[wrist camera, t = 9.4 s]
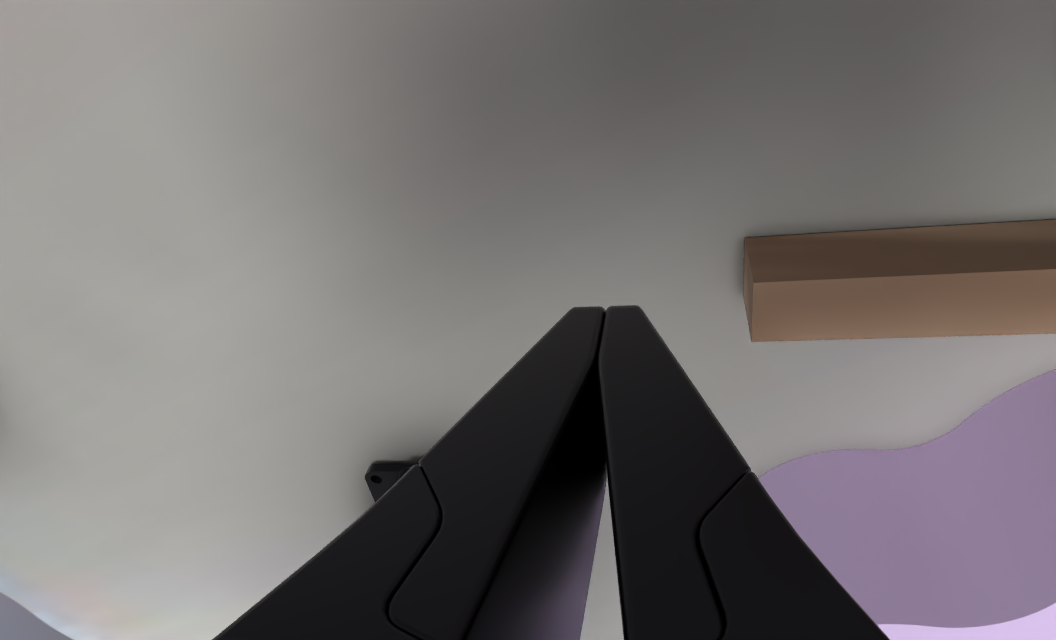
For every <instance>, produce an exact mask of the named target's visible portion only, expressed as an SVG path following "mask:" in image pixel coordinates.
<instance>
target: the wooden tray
mask: <svg viewBox="0 0 1056 640" xmlns="http://www.w3.org/2000/svg"><path fill="white" fill-rule="evenodd" d="M743 296H744V302H745V308H746V314H747V319H748V325H749V331H750V337H751V342H763V341H800V340H836V339H873V338H909V337H945V336H982V335H1018V334H1055V333H1056V219H1053V220H1036V221H1019V222H1002V223H985V224H968V225H951V226H935V227H918V228H901V229H884V230H867V231H850V232H834V233H817V234H800V235H783V236H766V237H749V238H745V240H744V277H743Z"/></svg>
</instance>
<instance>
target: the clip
mask: <svg viewBox="0 0 1056 640" xmlns="http://www.w3.org/2000/svg"><path fill="white" fill-rule="evenodd" d="M758 479H759V481H760V482H761V484H762V485H763V487H764V488H765V489H766V491H767V492H768V494H769V495H770V497H771V498H772V500H773V501H774V502H775V504H776V505H777V506H778V508H779V509H780V510H781V512H782V513H783V514H784V516H785V517H786V519H787V520H788V521H789V523H790V524H791V525H792V527H793V528H794V529H795V531H796V532H797V533H798V535H799V536H800V537H801V538H802V540H803V541H804V542H805V543H806V544H807V546H808V547H809V548H810V549H811V550H812V551H813V553H814V554H815V555H816V556H817V557H818V558H819V560H820V561H821V562H822V563H823V564H824V566H825V567H826V568H827V569H828V570H829V571H830V573H831V574H832V575H833V576H834V577H835V579H836V580H837V581H838V582H839V583H840V584H841V585H842V586H843V588H844V589H845V590H846V591H847V592H848V593H849V594H850V595H851V596H852V598H853V599H854V600H855V601H856V602H857V603H858V604H859V605H860V607H861V608H862V609H863V610H864V611H865V612H866V613H867V614H868V615H869V617H870V618H871V619H872V620H873V621H874V622H875V623H876V624H877V625H878V627H879V628H880V629H881V630H882V631H883V632H884V633H885V634H886V636H887V637H888V638H889V639H890V640H1056V369H1055V370H1052V371H1049V372H1047V373H1044V374H1042V375H1040V376H1037V377H1035V378H1033V379H1031V380H1029V381H1026V382H1024V383H1022V384H1020V385H1018V386H1016V387H1014V388H1012V389H1011V390H1009V391H1007V392H1005V393H1003V394H1002V395H1000V396H998V397H997V398H995V399H993V400H992V401H990V402H989V403H987V404H986V405H984V406H983V407H982V408H980V409H979V410H977V411H976V412H975V413H973V414H972V415H971V416H970V417H968V418H967V419H966V420H965V421H964V422H962V423H961V424H960V425H959V426H957V427H956V428H954V429H953V430H951V431H950V432H948V433H946V434H945V435H943V436H941V437H939V438H937V439H934V440H932V441H929V442H927V443H924V444H921V445H917V446H913V447H909V448H904V449H897V450H862V449H847V450H834V451H826V452H820V453H815V454H810V455H807V456H803V457H799V458H797V459H794V460H791V461H788V462H786V463H784V464H781V465H779V466H777V467H775V468H773V469H772V470H770V471H768V472H767V473H765V474H764V475H762V476H761V477H759V478H758Z"/></svg>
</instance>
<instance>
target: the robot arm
mask: <svg viewBox="0 0 1056 640" xmlns="http://www.w3.org/2000/svg"><path fill="white" fill-rule="evenodd" d="M607 477H608V486H609V496H610V506H611V516H612V526H613V536H614V546H615V556H616V566H617V576H618V586H619V595H620V605H621V615H622V625H623V635H624V640H890V639H889V638H888V637H887V636H886V634H885V633H884V632H883V631H882V630H881V629H880V628H879V627H878V625H877V624H876V623H875V622H874V621H873V620H872V619H871V618H870V617H869V615H868V614H867V613H866V612H865V611H864V610H863V609H862V608H861V607H860V605H859V604H858V603H857V602H856V601H855V600H854V599H853V598H852V596H851V595H850V594H849V593H848V592H847V591H846V590H845V589H844V588H843V586H842V585H841V584H840V583H839V582H838V581H837V580H836V579H835V577H834V576H833V575H832V574H831V573H830V571H829V570H828V569H827V568H826V567H825V566H824V564H823V563H822V562H821V561H820V560H819V558H818V557H817V556H816V555H815V554H814V553H813V551H812V550H811V549H810V548H809V547H808V546H807V544H806V543H805V542H804V541H803V540H802V538H801V537H800V536H799V535H798V533H797V532H796V531H795V529H794V528H793V527H792V525H791V524H790V523H789V521H788V520H787V519H786V517H785V516H784V514H783V513H782V512H781V510H780V509H779V508H778V506H777V505H776V504H775V502H774V501H773V500H772V498H771V497H770V495H769V494H768V492H767V491H766V489H765V488H764V487H763V485H762V484H761V482H760V481H759V479H758V478H757V476H756V475H755V474H754V473H753V472H751V468H750V467H749V465H748V464H747V462H746V461H745V459H744V458H743V456H742V455H741V453H740V452H739V451H738V449H737V448H736V446H735V445H734V443H733V442H732V440H731V439H730V437H729V436H728V434H727V433H726V432H725V430H724V429H723V427H722V426H721V424H720V423H719V421H718V420H717V418H716V417H715V415H714V414H713V412H712V411H711V410H710V408H709V407H708V405H707V404H706V402H705V401H704V399H703V398H702V396H701V395H700V393H699V392H698V391H697V389H696V388H695V386H694V385H693V383H692V382H691V380H690V379H689V377H688V376H687V374H686V373H685V372H684V370H683V369H682V367H681V366H680V364H679V363H678V361H677V360H676V358H675V357H674V355H673V354H672V352H671V351H670V350H669V348H668V347H667V345H666V344H665V342H664V341H663V339H662V338H661V336H660V335H659V333H658V332H657V331H656V329H655V328H654V326H653V325H652V323H651V322H650V320H649V319H648V317H647V316H646V314H645V313H644V312H643V310H642V309H641V308H640V307H639V306H636V305H633V306H611V307H609V308H607V310H606V311H605V309H604V308H603V307H599V306H598V307H574V308H572V309H571V310H569V311H568V312H567V313H566V314H565V315H564V316H563V317H562V318H561V319H560V320H559V321H558V322H557V323H556V324H555V325H554V326H553V327H552V328H551V329H550V330H549V331H548V332H547V333H546V334H545V335H544V336H543V337H542V338H541V339H540V340H539V341H538V342H537V343H536V344H535V345H534V346H533V347H532V348H531V349H530V350H529V351H528V352H527V353H526V354H525V355H524V356H523V357H522V358H521V359H520V360H519V361H518V362H517V363H516V364H515V365H514V366H513V367H512V368H511V369H510V370H509V371H508V372H507V373H506V374H505V375H504V376H503V377H502V378H501V379H500V380H499V381H498V382H497V383H496V384H495V385H494V386H493V387H492V388H491V389H490V390H489V391H488V392H487V393H486V394H485V395H484V396H483V397H482V398H481V399H480V400H479V401H478V402H477V403H476V404H475V405H474V406H473V407H472V408H471V409H470V410H469V411H468V412H467V413H466V414H465V415H464V416H463V417H462V418H461V419H460V420H459V421H458V422H457V423H456V424H455V425H454V426H453V427H452V428H451V429H450V430H449V431H448V432H447V433H446V434H445V435H444V436H443V437H442V438H441V439H440V440H439V441H438V442H437V443H436V444H435V445H434V446H433V447H432V448H431V449H430V450H429V451H428V452H427V453H426V454H425V455H424V456H423V457H422V458H421V459H420V460H419V465H417V464H416V465H404V464H374V465H371V466H369V468H368V471H367V473H366V475H365V480H366V482H367V484H368V487H369V489H370V491H371V494H372V496H373V498H374V501H375V503H374V504H373V505H372V506H371V507H370V508H369V509H368V510H367V511H366V512H365V513H364V514H363V515H362V516H361V517H359V518H358V519H357V520H356V521H355V522H354V523H352V524H351V525H350V526H349V527H348V528H347V529H345V530H344V531H343V532H342V533H341V534H340V535H338V536H337V537H336V538H335V539H334V540H333V541H331V542H330V543H329V544H328V545H327V546H326V547H324V548H323V549H322V550H321V551H320V552H319V553H317V554H316V555H315V556H314V557H312V558H311V559H310V560H309V561H308V562H306V563H305V564H304V565H303V566H301V567H300V568H299V569H298V570H297V571H295V572H294V573H293V574H292V575H290V576H289V577H288V578H287V579H286V580H284V581H283V582H282V583H281V584H280V585H278V586H277V587H276V588H275V589H273V590H272V591H271V592H270V593H269V594H267V595H266V596H265V597H264V598H262V599H261V600H260V601H259V602H258V603H256V604H255V605H254V606H253V607H251V608H250V609H249V610H248V611H247V612H245V613H244V614H243V615H242V616H240V617H239V618H238V619H237V620H236V621H234V622H233V623H232V624H231V625H230V626H228V627H227V628H226V629H225V630H223V631H222V632H221V633H220V634H219V635H217V636H216V637H215V638H213V639H212V640H580V635H581V629H582V624H583V618H584V612H585V606H586V600H587V594H588V588H589V583H590V577H591V571H592V565H593V559H594V553H595V548H596V542H597V536H598V530H599V524H600V518H601V512H602V507H603V501H604V494H605V487H606V480H607Z"/></svg>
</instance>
